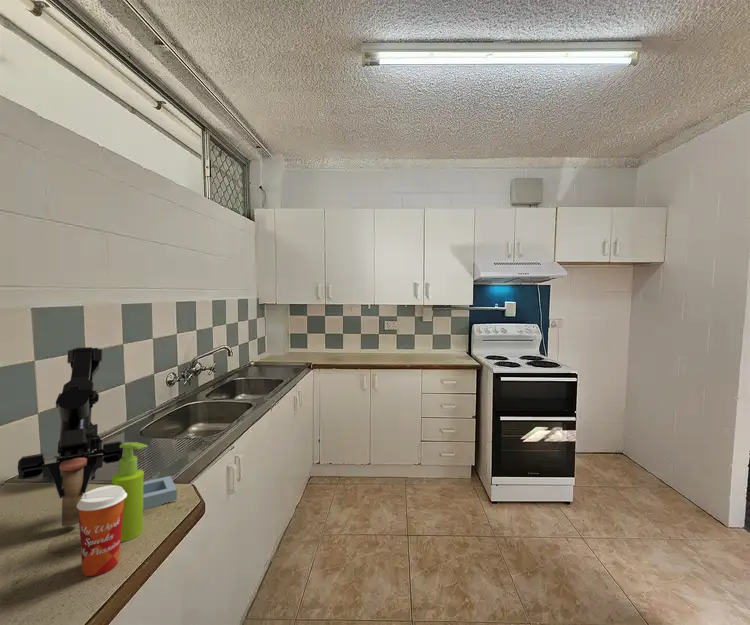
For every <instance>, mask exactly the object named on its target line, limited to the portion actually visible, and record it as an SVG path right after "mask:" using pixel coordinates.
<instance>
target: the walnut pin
mask: <svg viewBox="0 0 750 625" xmlns="http://www.w3.org/2000/svg"><path fill="white" fill-rule="evenodd" d="M86 465H87V459H86V458H73V459H69V460H66V461H63V462H61V463H60V464H59V469H60V471H62V491H63V492H62V498H61V500H62V501H61V526H62V527H72V526H75V525H78V524H79V509H78V508H77V504H78V502H79V501H80V499H81V497H82V496H83V494H84V493H83V482H84V481H83V469H84V466H86Z"/></svg>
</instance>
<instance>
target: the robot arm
mask: <svg viewBox="0 0 750 625" xmlns="http://www.w3.org/2000/svg"><path fill="white" fill-rule="evenodd" d="M66 363H67V364H70V370H71V375H70V380H69V381H68V382H66V383H64V384H63V388H62V392H61V393H59V394H58V395H57V397H56V400H55V406H56V409H58V415H59V418H60V431H59V432H60V433H59V440H58V443H57V454H58V456H57V455H53V456H47V457H46V456H45V457H44V453H43V452H42V453H37V454H36V453H35V454H32V455H31V454H30V455H25V456H22V457H21V458H20V459H19V460H18V462H17V473H18V477H19V480H28V479H32V478H37V477H41V475H42V478H43V479H49V480H50V481H51V483H52V484H53V486H54V488H55V490H56V492H57V496H58V498H59V499H62V492H63V491H62V488H63V481H62V475H61V470H60V469H59V464H60V463H61V462H63V461H66V460H69V459H73V458H86V459H87V465H86V466H84V469H83V494H85V493H86V492H87V490H88V487H89V484H90V482H91V480H94V479H95V478H96V471H97V470H98V469H101V468H103V465H104V464H103V463H105V464H106V465H107V464H112V463H117V462H118V463H119V460H120V459H121V458H123V455H124V448H120V445H121V444H124V443H123V442H122V441H121V440H118V441H112V442H105V443H103V440H102V438H101V437H100V435H99V434H98V433H99V431H98V430H99V429H98V426H99V425H98V424H96V423H95V424H93V422H92V409H93V408H94V405H96V404H97V403H98V402H99V399H100V394H99V393H98V392H97V390H96V389H95V388H94V387H95V386H94V376H95V375H96V373H97V372H98V371H99V370H100V367H101V366H100V363H103V349H99V347H92V346H91V347H89V346H87V347H86V346H85V347H84V346H83V347H75V348H72V349H70V350H67V362H66Z"/></svg>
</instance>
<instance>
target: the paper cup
mask: <svg viewBox="0 0 750 625" xmlns="http://www.w3.org/2000/svg"><path fill="white" fill-rule="evenodd" d="M126 497H127V493H125V490H124V489H123V488H122V487H120V486H116V485H112V484H111V485H104V486H100V487H97V488H96V487H95V488H94V489H90V490H89V491H86V492H85V493H83V496H82V497H81V499H80V501H79V502H78V504H77V508H78V509H79V523H78V524H79V538H80V539H79V540H80V554H81V555H80V558H81V570H82V574H83V575H84V576H86V577H96V576H100V575H103V574H106V573H107V572H109V571H111V570H113V569H114V568H115V567H116V566H117V565H118V564H119V560H120V551H121V543H122V542H121V531H122V519H123V507H124V499H125V498H126Z"/></svg>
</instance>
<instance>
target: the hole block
mask: <svg viewBox="0 0 750 625" xmlns="http://www.w3.org/2000/svg"><path fill="white" fill-rule="evenodd" d="M177 498H178V489H177V487H176V485H175V483H174V480H173V478H172V476H171V475H169V476H168V475H166V476H164V477H160V478H155V479H150V480H145V481H144V486H143V511H144V510H148V509H152V508H155V506H156V507H159V505H160V506H163V505H162V504H164V503H167V502H170V501H173V500H177ZM177 501H178V500H177ZM167 504H168V503H167ZM164 505H165V504H164Z"/></svg>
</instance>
